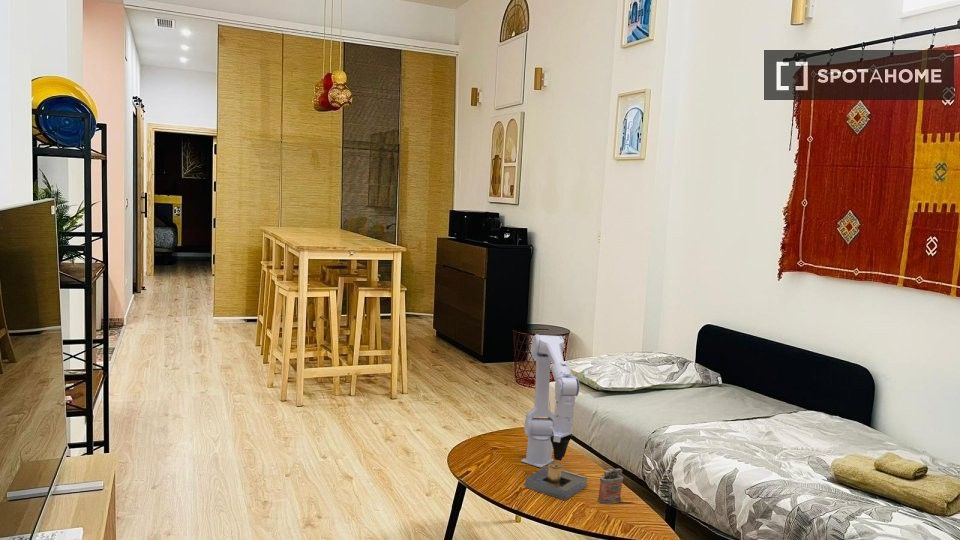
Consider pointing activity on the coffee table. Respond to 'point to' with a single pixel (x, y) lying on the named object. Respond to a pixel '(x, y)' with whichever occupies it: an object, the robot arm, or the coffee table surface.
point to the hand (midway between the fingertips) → (559, 458)
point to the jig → (567, 488)
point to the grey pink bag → (610, 487)
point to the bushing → (554, 473)
